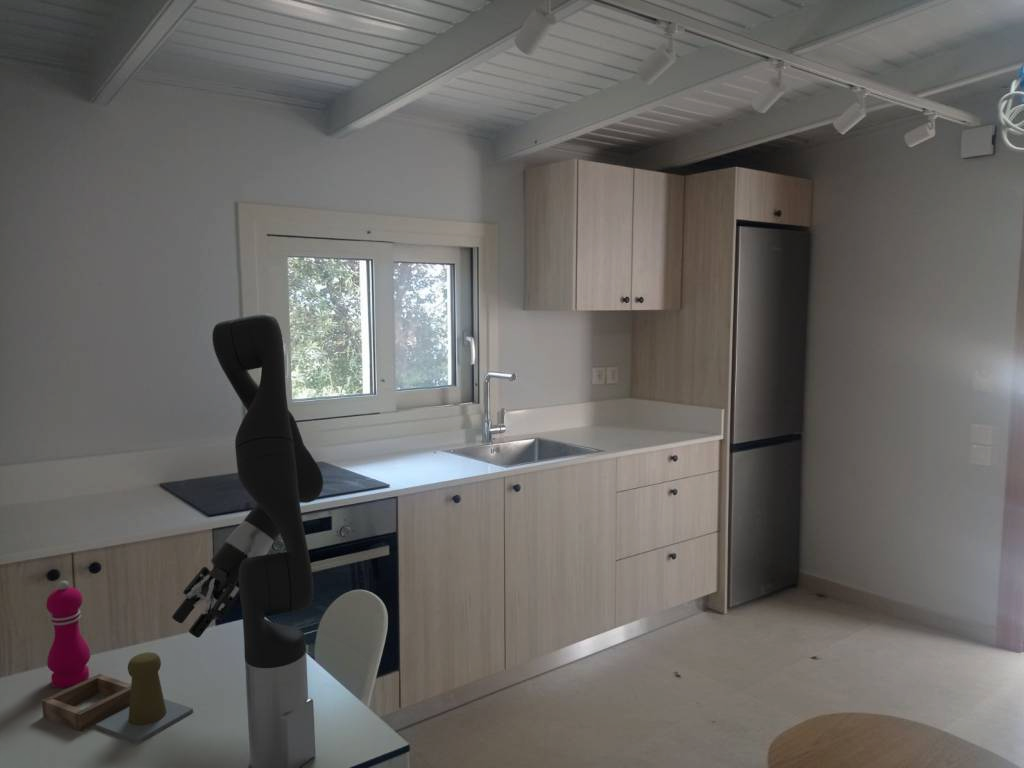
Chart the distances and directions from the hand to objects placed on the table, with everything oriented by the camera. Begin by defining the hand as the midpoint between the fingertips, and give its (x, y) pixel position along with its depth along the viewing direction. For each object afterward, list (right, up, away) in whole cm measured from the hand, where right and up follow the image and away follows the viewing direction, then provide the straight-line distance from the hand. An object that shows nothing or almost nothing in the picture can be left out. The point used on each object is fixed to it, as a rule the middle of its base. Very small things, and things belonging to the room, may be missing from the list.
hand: (184, 627), depth 135 cm
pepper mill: (-27, -14, +11) cm, 32 cm away
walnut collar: (-17, -15, 0) cm, 22 cm away
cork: (-5, -15, -4) cm, 16 cm away
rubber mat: (-5, -15, -4) cm, 16 cm away
